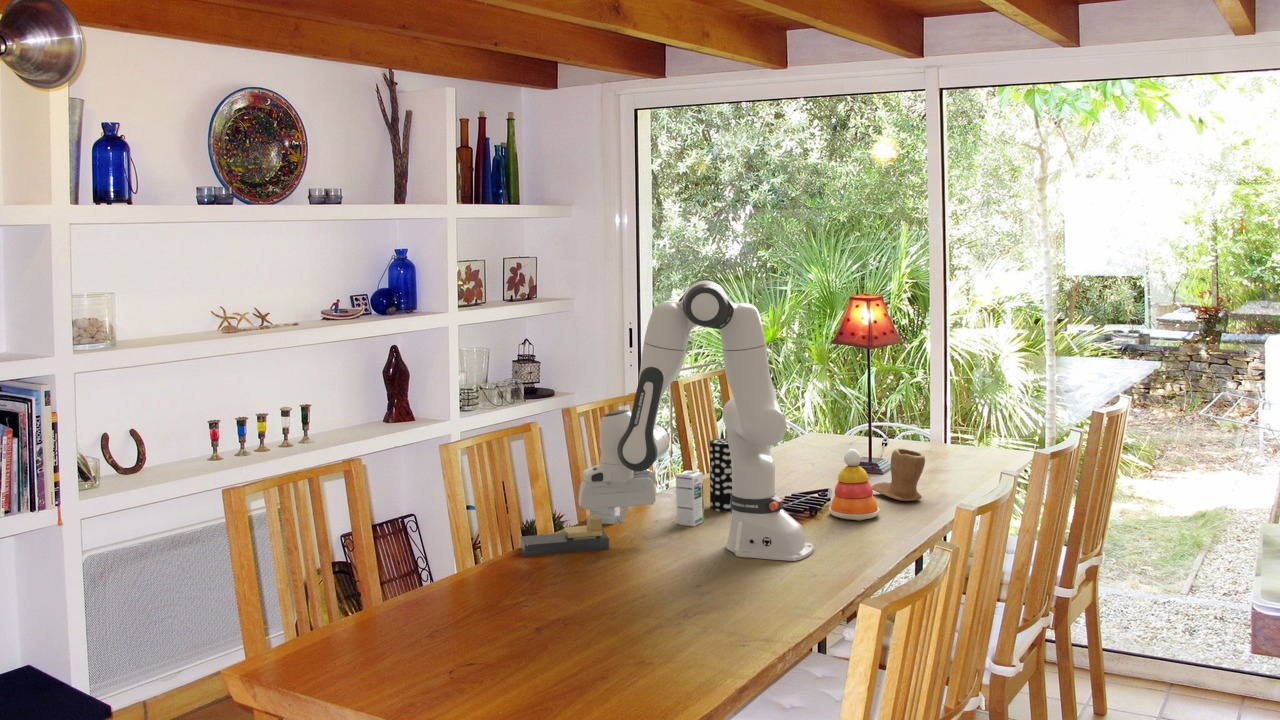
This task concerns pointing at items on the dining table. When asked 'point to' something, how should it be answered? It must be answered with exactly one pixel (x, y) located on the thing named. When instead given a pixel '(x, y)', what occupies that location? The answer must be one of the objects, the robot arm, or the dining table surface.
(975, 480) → the dining table surface
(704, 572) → the dining table surface
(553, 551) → the body
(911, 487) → the brown top hat
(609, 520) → the supplement box
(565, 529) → the lever cap
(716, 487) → the spotted tube
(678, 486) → the syrup box
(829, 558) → the dining table surface
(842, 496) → the stacking toy
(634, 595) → the dining table surface
